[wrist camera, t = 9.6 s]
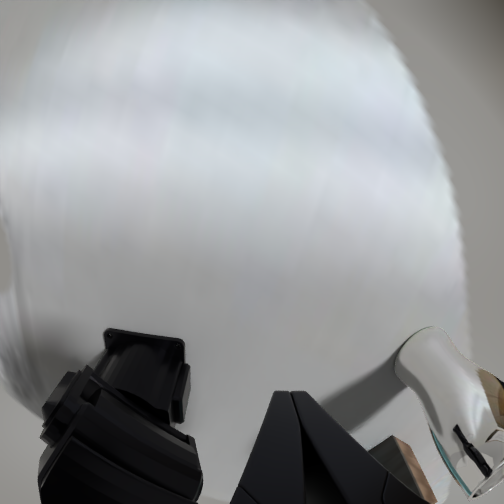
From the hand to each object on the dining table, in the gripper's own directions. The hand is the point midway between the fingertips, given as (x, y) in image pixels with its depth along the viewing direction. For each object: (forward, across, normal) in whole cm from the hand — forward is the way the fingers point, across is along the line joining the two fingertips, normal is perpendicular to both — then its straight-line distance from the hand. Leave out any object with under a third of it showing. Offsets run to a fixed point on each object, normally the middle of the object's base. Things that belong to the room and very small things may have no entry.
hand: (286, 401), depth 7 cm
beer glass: (+13, -16, +8) cm, 22 cm away
